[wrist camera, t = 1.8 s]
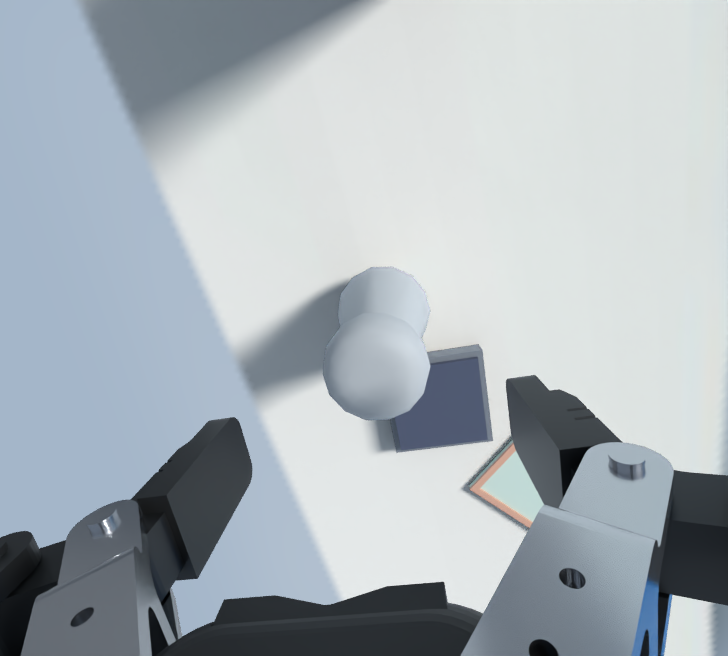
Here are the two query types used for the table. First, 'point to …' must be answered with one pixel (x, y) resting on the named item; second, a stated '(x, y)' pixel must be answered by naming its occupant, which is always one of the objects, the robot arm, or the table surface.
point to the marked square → (509, 486)
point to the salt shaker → (379, 345)
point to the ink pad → (448, 404)
